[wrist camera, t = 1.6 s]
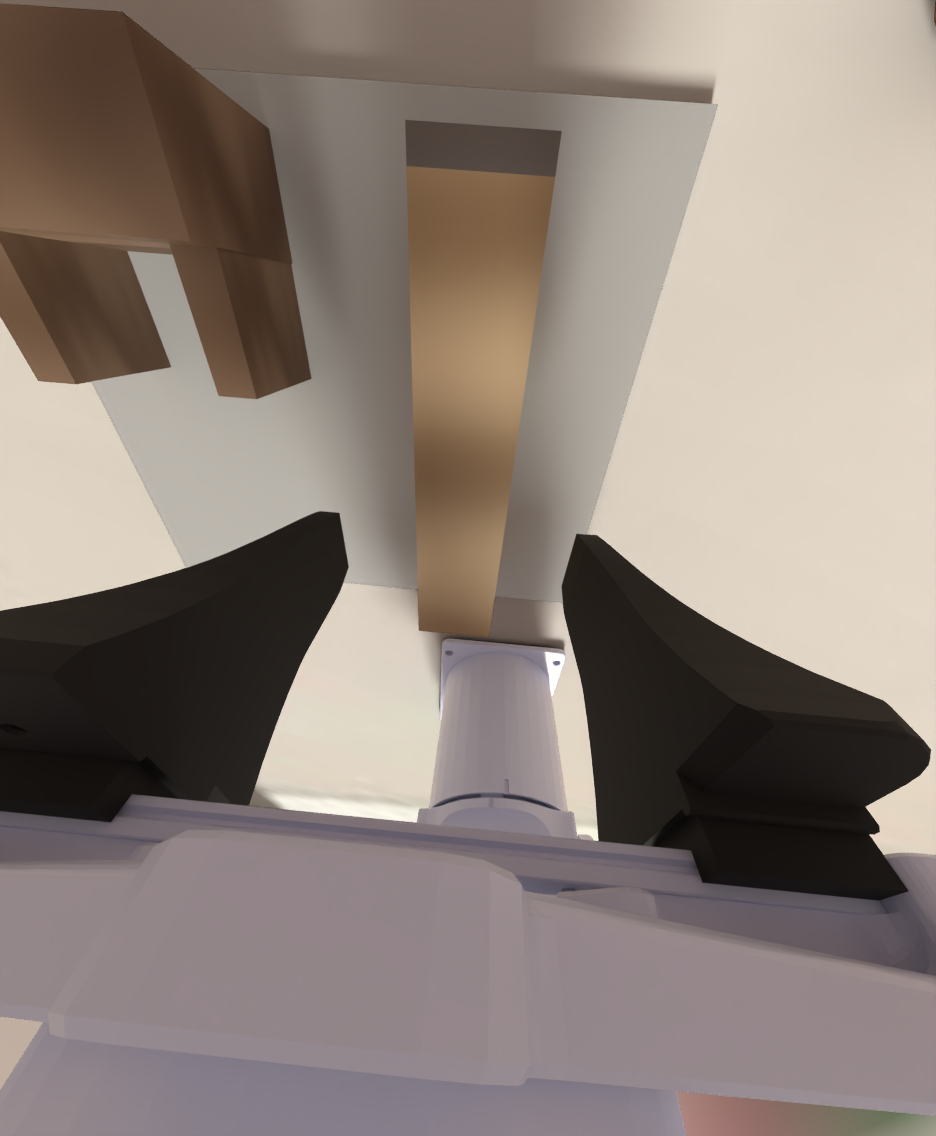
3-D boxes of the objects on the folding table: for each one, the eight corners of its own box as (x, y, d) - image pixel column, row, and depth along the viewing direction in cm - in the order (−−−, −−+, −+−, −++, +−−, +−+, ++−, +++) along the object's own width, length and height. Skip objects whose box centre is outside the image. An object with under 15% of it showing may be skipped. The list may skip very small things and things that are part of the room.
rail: (490, 567, 19) (488, 637, 15) (435, 562, 19) (418, 630, 15) (537, 197, 11) (561, 130, 7) (439, 190, 11) (405, 118, 7)
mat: (564, 598, 20) (565, 603, 20) (191, 564, 21) (186, 568, 20) (711, 111, 10) (718, 104, 9) (-60, 57, 10) (-78, 49, 10)
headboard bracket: (312, 378, 14) (239, 406, 10) (141, 364, 14) (0, 386, 10) (268, 128, 10) (121, 11, 6) (34, 111, 10) (-261, -15, 6)
